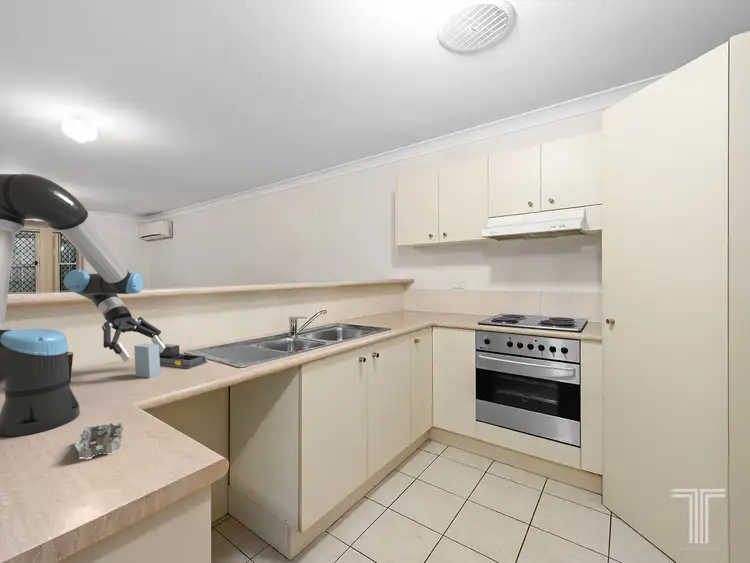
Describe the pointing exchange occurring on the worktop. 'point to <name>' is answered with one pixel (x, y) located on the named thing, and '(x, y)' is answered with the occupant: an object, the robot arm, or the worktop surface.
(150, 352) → the light blue upright block
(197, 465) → the worktop surface
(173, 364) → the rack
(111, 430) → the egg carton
